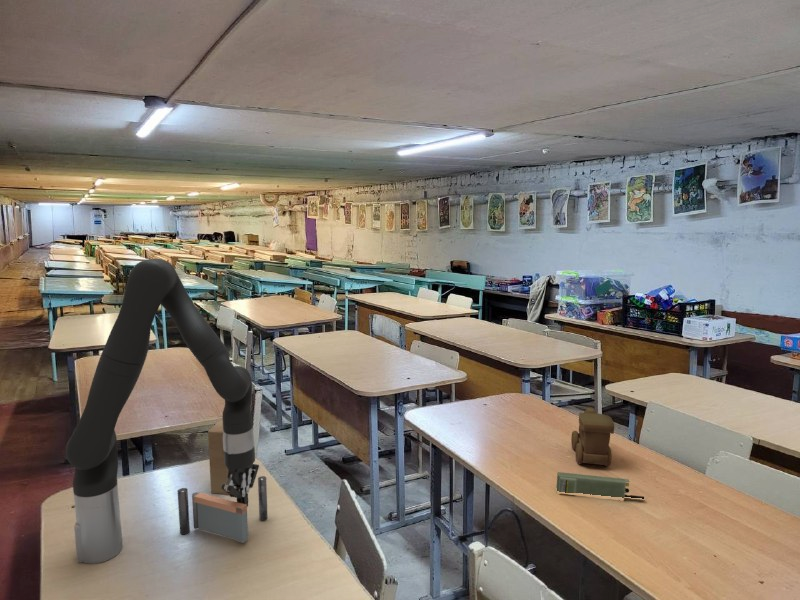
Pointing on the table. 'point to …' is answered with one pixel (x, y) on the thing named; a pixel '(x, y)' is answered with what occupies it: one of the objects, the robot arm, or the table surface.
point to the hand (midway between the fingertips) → (242, 507)
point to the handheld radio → (593, 485)
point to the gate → (220, 516)
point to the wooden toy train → (593, 438)
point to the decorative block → (217, 458)
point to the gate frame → (185, 508)
